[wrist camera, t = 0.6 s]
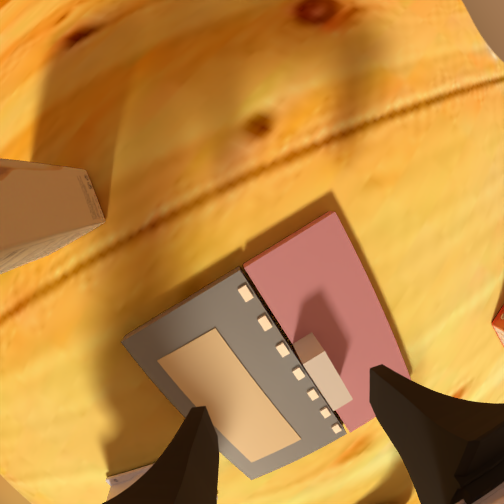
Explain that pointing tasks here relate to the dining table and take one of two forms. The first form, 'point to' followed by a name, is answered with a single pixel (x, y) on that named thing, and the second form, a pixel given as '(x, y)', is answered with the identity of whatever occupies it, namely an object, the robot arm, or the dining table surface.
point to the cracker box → (499, 324)
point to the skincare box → (43, 210)
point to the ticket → (236, 375)
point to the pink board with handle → (328, 313)
